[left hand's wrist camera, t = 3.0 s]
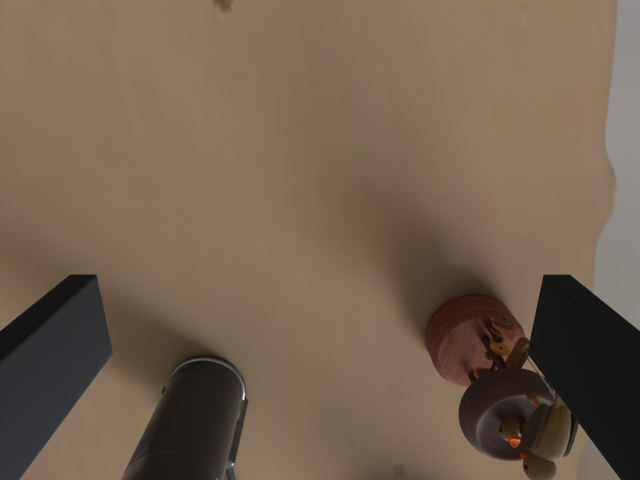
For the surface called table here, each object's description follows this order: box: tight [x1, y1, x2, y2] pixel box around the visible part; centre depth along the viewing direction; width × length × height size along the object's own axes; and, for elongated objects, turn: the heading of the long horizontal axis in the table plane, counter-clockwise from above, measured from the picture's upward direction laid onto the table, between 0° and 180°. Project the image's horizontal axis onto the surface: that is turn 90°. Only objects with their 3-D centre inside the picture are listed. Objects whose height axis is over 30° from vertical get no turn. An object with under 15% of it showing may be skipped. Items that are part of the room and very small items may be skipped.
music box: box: [426, 295, 579, 480], centre depth 42 cm, size 15×11×20 cm
